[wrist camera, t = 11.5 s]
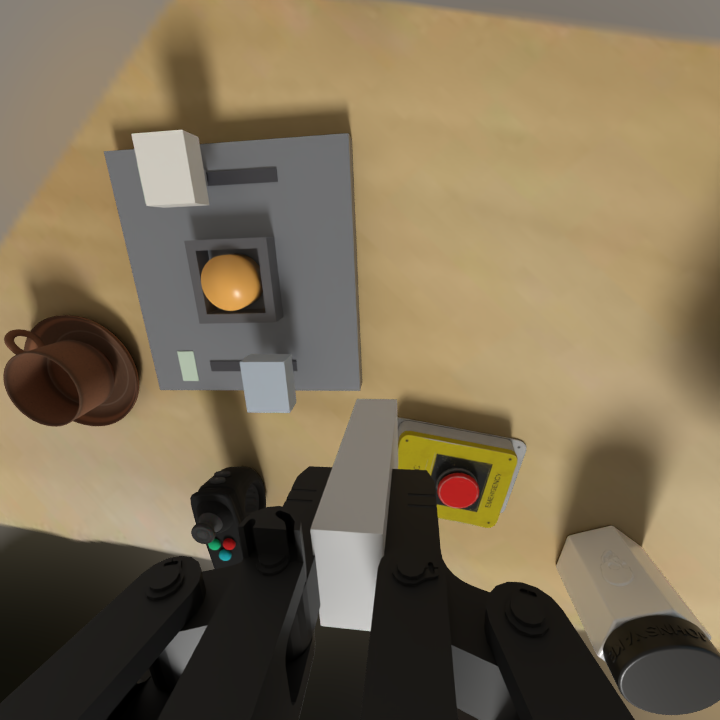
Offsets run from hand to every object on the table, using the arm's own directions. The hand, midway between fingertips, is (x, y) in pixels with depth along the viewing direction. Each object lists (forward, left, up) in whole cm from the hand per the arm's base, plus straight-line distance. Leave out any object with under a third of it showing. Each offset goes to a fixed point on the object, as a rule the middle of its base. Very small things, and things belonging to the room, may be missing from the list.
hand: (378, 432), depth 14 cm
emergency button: (-5, +16, -22) cm, 28 cm away
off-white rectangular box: (+15, -12, -19) cm, 27 cm away
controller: (+16, +20, -21) cm, 33 cm away
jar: (-22, +27, -21) cm, 41 cm away
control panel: (+13, -4, -21) cm, 25 cm away
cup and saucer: (+31, +5, -21) cm, 38 cm away
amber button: (+13, -4, -19) cm, 23 cm away
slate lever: (+10, +4, -19) cm, 22 cm away
